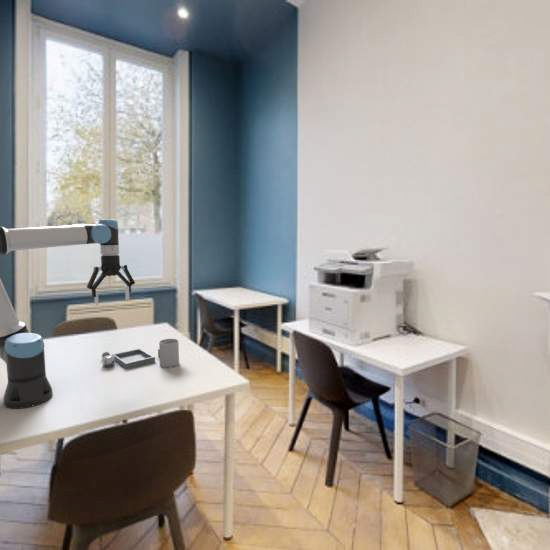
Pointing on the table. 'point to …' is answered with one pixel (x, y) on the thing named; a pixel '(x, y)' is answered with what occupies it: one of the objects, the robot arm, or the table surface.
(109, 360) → the chrome bearing sphere
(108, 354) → the rubber ball
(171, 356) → the mug
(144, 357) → the tray
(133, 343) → the table surface
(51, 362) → the table surface
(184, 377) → the table surface
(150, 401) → the table surface
